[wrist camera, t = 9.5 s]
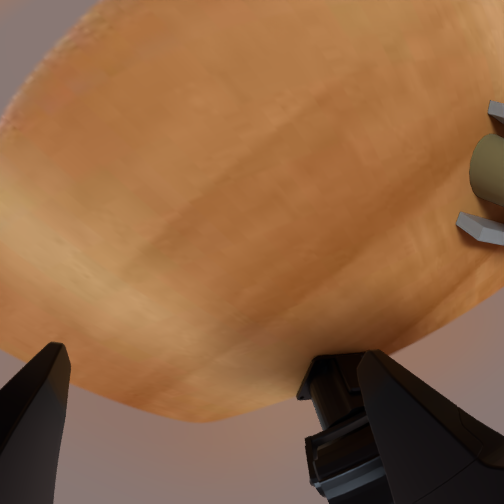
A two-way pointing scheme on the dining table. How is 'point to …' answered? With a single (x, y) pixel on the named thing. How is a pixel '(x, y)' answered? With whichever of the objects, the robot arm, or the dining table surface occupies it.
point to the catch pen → (478, 225)
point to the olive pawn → (488, 169)
